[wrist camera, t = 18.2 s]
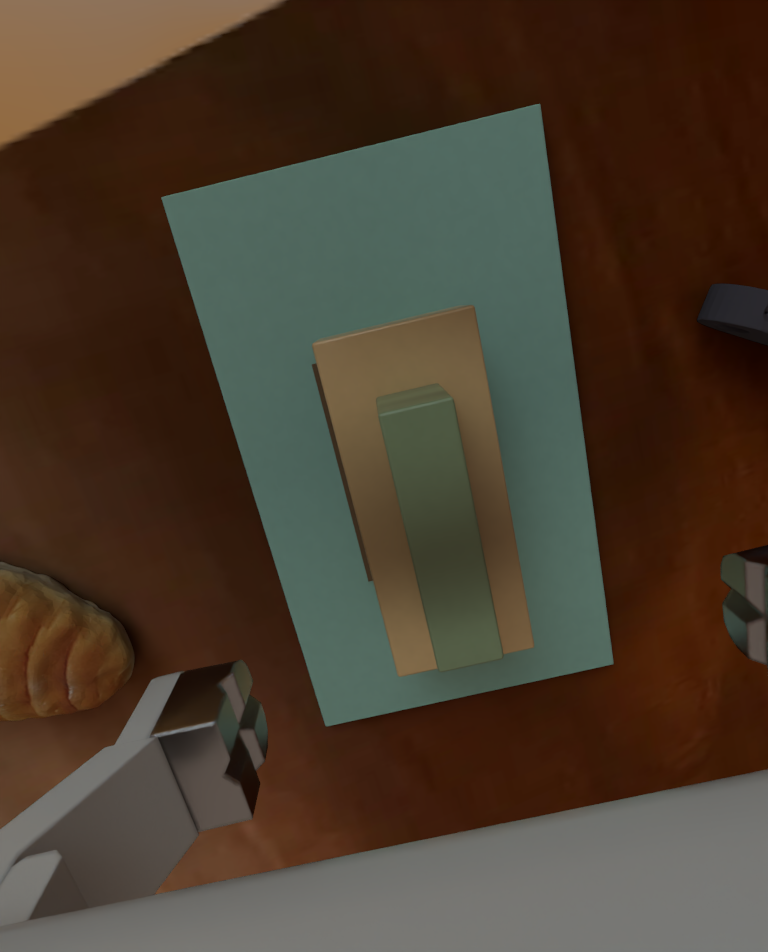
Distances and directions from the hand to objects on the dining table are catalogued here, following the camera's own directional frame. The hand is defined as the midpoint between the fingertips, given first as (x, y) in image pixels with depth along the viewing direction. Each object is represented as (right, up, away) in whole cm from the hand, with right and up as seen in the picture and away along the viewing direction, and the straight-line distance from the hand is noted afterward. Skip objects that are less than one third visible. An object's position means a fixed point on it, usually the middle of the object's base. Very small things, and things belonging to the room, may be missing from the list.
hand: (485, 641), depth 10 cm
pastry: (-17, -3, +15) cm, 23 cm away
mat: (0, +4, +13) cm, 14 cm away
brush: (0, +3, +13) cm, 13 cm away
